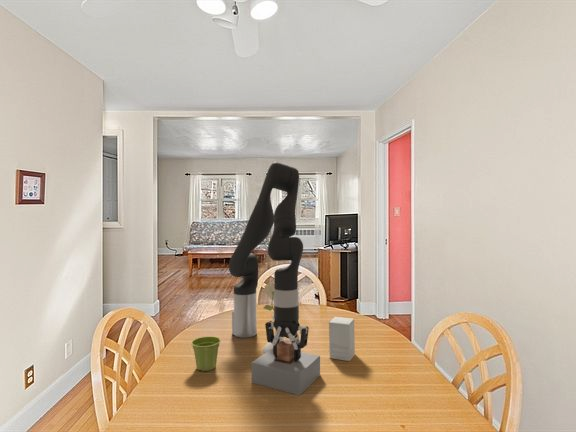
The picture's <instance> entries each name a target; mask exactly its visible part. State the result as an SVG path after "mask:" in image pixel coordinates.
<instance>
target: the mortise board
mask: <svg viewBox="0 0 576 432" xmlns="http://www.w3.org/2000/svg"><path fill="white" fill-rule="evenodd" d="M250 363H251V364H250V365H251V370H250V372H251V384H255V385H259V386H263V387H266V388H271V389H274V390H277V391H278V390H279V391H282V392H286V393H290V394H293V395H297V396H301V395H302V394H303V393H304V392H305V391H306V390H307V389H308V388H309V387H310V386H311V385H312V384H313V383H314V382H315V381H316V380H317V379H318V378H319V377H320V375H321V355H318V354H314V353H310V352H309V353H308V352H303V351H301V358H300V359H299V360H298V361H297V362H295V361H294V362H293V363H291V364H286V363H282V362H277V358H276V357H275V355H274V354H273V349H271V350H270V351H268V352H267V353H265V354H264V353H263V354H262V355H260V356H259V357H258V358H255V360H253V361H252V362H250Z"/></svg>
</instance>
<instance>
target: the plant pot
mask: <svg viewBox="0 0 576 432" xmlns="http://www.w3.org/2000/svg"><path fill="white" fill-rule="evenodd" d="M221 342H222V340H221V338H220V337H217V336H209V335H208V336H202V337H201V336H200V337H197V338H194V339H192V341H191V342H190V344H191V346H192V349H193V352H194V357H195V358H194V359H195V365H196V370H198V371H202V372H209V371H212V370H214V369H216V367H217V361H218V354H219V353H218V352H219V347H220V343H221Z"/></svg>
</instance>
